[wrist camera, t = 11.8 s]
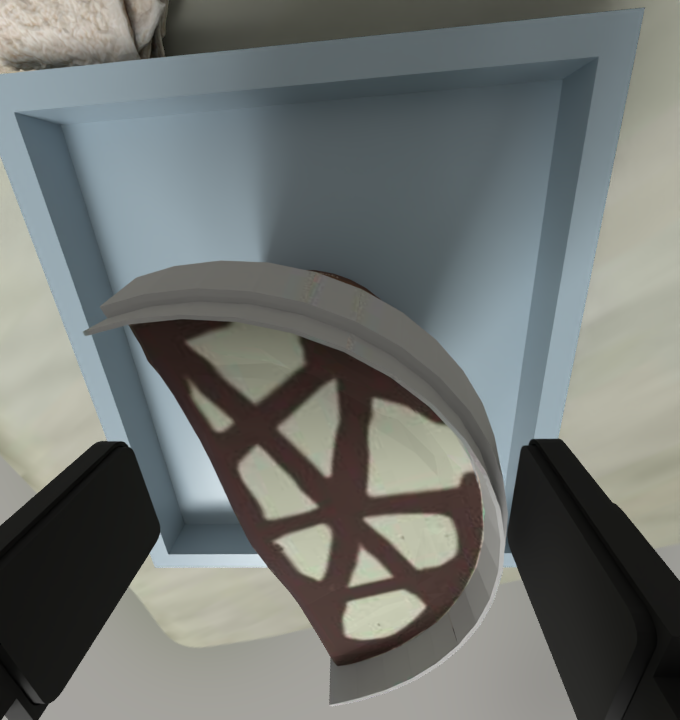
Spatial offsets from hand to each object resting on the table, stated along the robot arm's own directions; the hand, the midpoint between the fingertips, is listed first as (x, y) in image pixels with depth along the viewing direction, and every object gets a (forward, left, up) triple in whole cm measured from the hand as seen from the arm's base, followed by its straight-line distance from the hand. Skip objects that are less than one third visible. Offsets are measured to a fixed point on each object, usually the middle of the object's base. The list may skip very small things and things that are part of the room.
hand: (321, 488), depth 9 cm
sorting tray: (+1, 0, -9) cm, 9 cm away
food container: (-1, 0, -9) cm, 9 cm away
